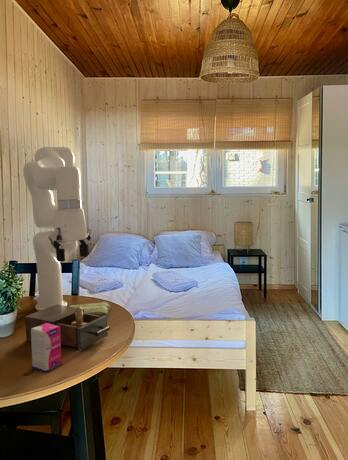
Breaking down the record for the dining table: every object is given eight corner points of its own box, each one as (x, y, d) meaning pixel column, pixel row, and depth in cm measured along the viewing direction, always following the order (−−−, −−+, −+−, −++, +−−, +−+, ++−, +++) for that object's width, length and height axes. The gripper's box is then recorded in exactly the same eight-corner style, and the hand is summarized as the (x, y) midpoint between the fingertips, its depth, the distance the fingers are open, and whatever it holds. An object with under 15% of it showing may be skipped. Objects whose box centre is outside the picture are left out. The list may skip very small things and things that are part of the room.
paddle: (71, 336, 135) (69, 307, 134) (76, 333, 137) (75, 305, 136) (83, 338, 133) (82, 309, 132) (88, 336, 135) (87, 307, 134)
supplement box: (46, 372, 114) (44, 332, 112) (32, 368, 117) (29, 328, 116) (62, 364, 119) (60, 325, 117) (48, 360, 122) (45, 322, 120)
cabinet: (85, 332, 143) (84, 308, 142) (54, 347, 131) (53, 321, 130) (58, 327, 149) (56, 304, 148) (26, 341, 137) (24, 316, 136)
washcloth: (65, 311, 168) (65, 303, 168) (110, 308, 169) (109, 301, 169) (59, 321, 155) (59, 313, 155) (107, 319, 156) (107, 311, 156)
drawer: (117, 337, 136) (116, 317, 135) (91, 352, 125) (90, 330, 124) (81, 330, 143) (80, 311, 143) (53, 343, 132) (51, 323, 131)
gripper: (81, 204, 142) (84, 254, 144) (39, 207, 128) (43, 262, 130) (97, 204, 138) (100, 255, 140) (55, 207, 124) (59, 264, 126)
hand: (72, 258), depth 135 cm, fingers open, 9 cm apart
